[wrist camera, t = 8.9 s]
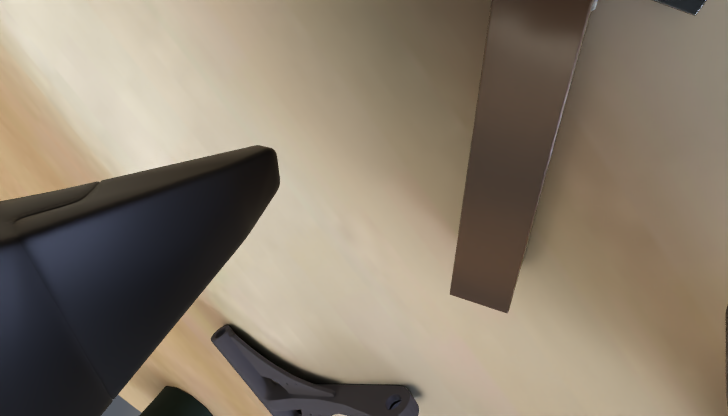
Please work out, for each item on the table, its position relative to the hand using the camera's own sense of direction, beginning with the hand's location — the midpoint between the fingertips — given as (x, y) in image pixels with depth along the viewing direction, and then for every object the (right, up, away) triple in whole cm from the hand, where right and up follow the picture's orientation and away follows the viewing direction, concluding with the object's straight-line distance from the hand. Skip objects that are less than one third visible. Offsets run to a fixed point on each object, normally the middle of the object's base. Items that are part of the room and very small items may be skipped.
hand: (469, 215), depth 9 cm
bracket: (-4, -13, +24) cm, 28 cm away
